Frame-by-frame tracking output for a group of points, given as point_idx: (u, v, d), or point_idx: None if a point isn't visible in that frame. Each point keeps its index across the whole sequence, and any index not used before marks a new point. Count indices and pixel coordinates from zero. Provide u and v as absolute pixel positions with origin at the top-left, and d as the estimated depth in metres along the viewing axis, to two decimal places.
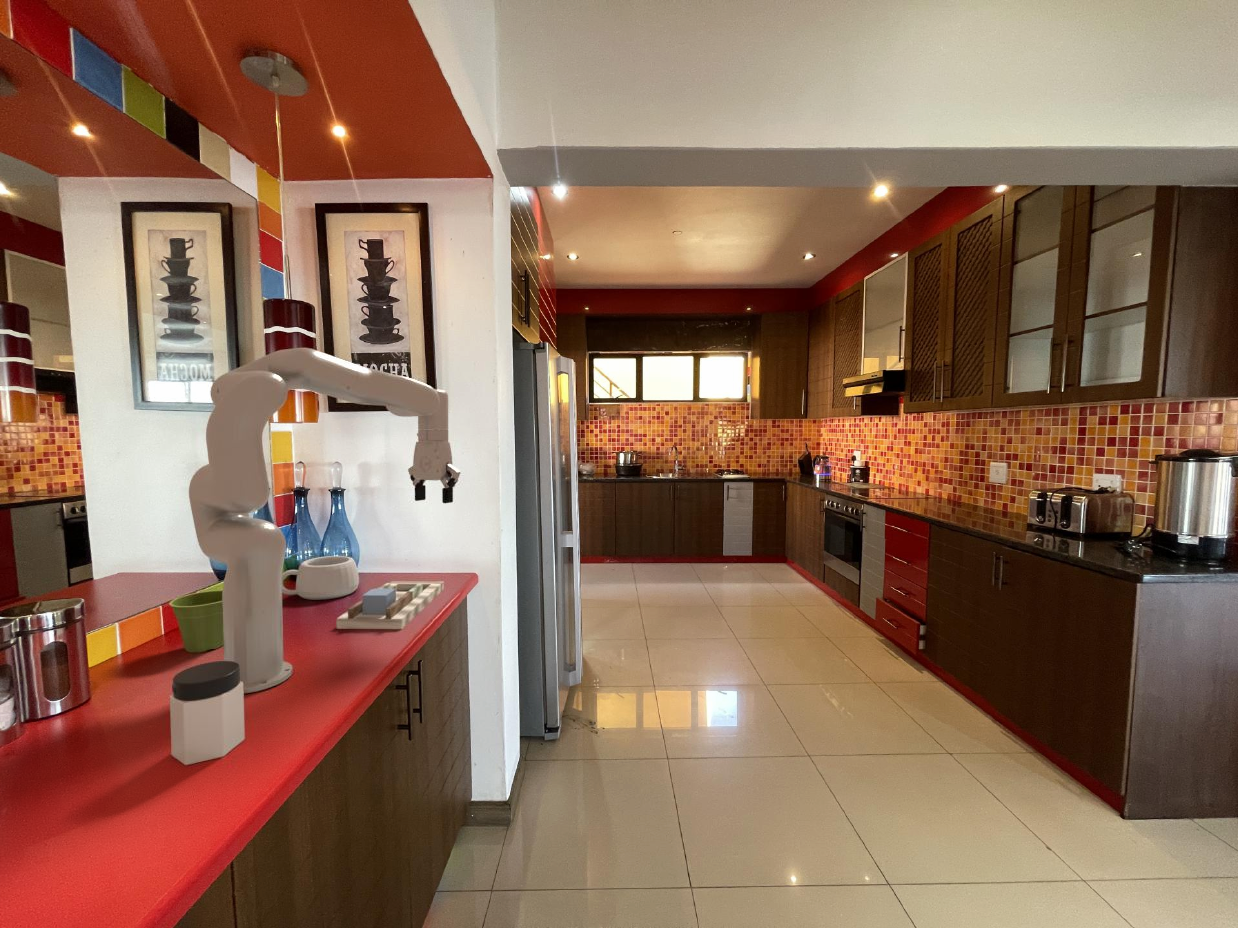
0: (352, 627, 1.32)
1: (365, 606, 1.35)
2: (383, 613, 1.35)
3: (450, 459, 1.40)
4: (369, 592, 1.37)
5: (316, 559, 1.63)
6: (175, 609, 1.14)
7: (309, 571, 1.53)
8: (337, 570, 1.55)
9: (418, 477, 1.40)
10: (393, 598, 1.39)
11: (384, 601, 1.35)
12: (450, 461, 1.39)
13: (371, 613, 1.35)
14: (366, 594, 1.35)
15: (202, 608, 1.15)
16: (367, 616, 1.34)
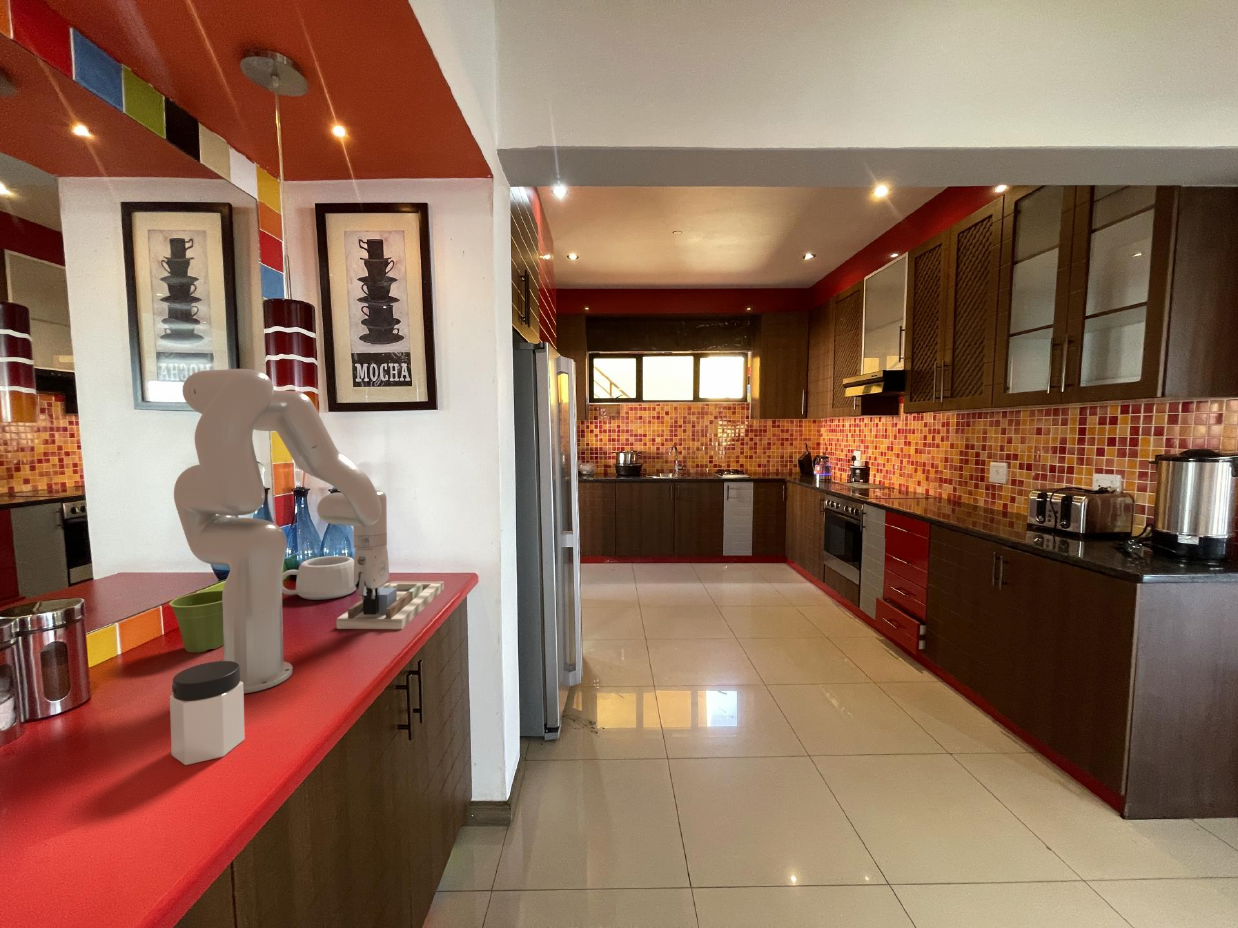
0: (352, 627, 1.32)
1: None
2: (384, 612, 1.36)
3: None
4: None
5: (316, 558, 1.63)
6: (175, 609, 1.14)
7: (309, 571, 1.53)
8: (337, 570, 1.55)
9: (377, 585, 1.30)
10: (394, 597, 1.40)
11: (384, 600, 1.36)
12: None
13: None
14: None
15: (202, 608, 1.15)
16: (367, 616, 1.34)
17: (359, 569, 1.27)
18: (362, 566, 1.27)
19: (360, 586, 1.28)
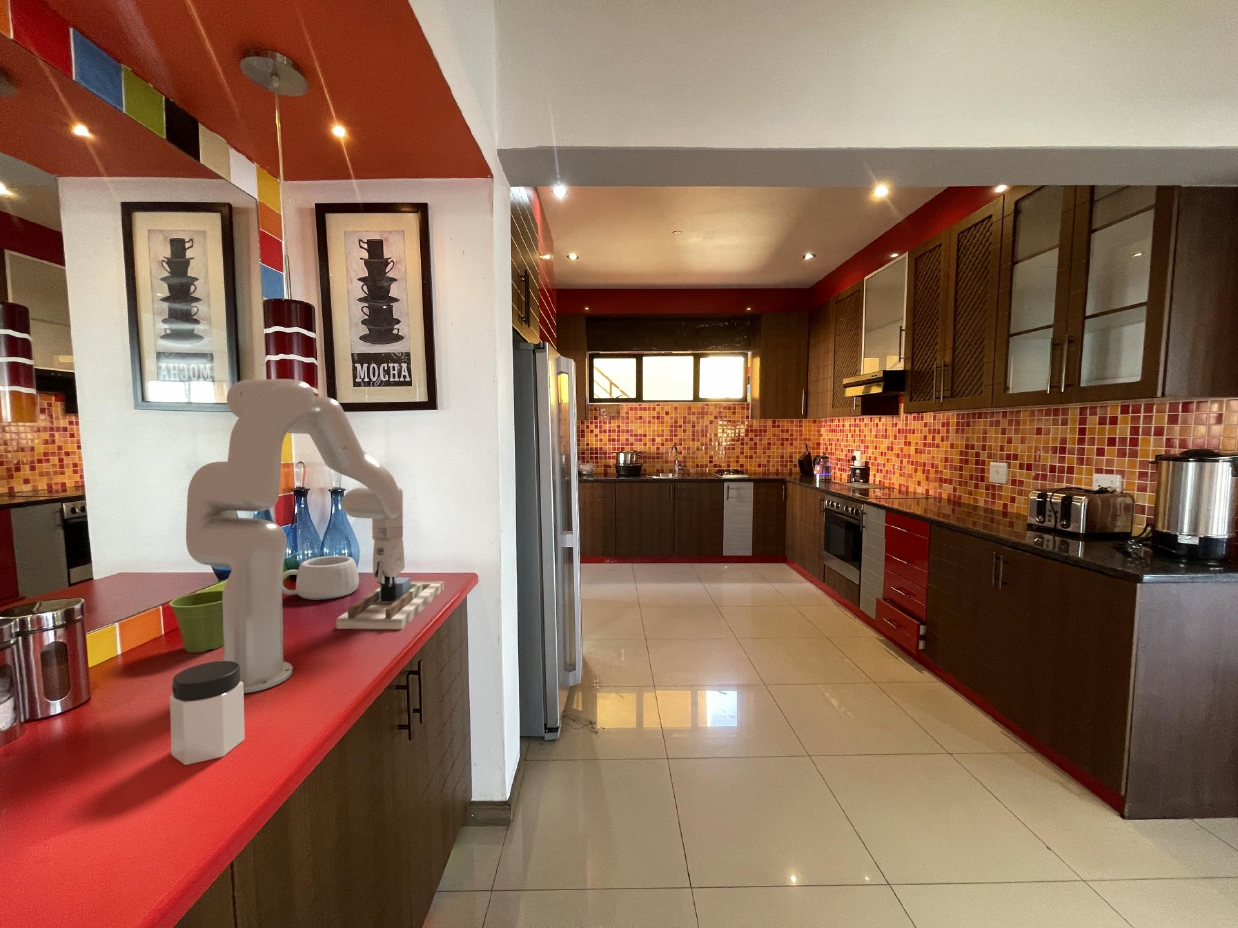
0: (352, 627, 1.32)
1: None
2: None
3: None
4: None
5: (316, 558, 1.63)
6: (175, 609, 1.14)
7: (309, 571, 1.53)
8: (337, 570, 1.55)
9: (394, 574, 1.41)
10: (408, 586, 1.50)
11: (400, 589, 1.46)
12: None
13: None
14: None
15: (202, 608, 1.15)
16: (367, 616, 1.34)
17: (378, 559, 1.38)
18: (381, 556, 1.38)
19: (379, 574, 1.38)
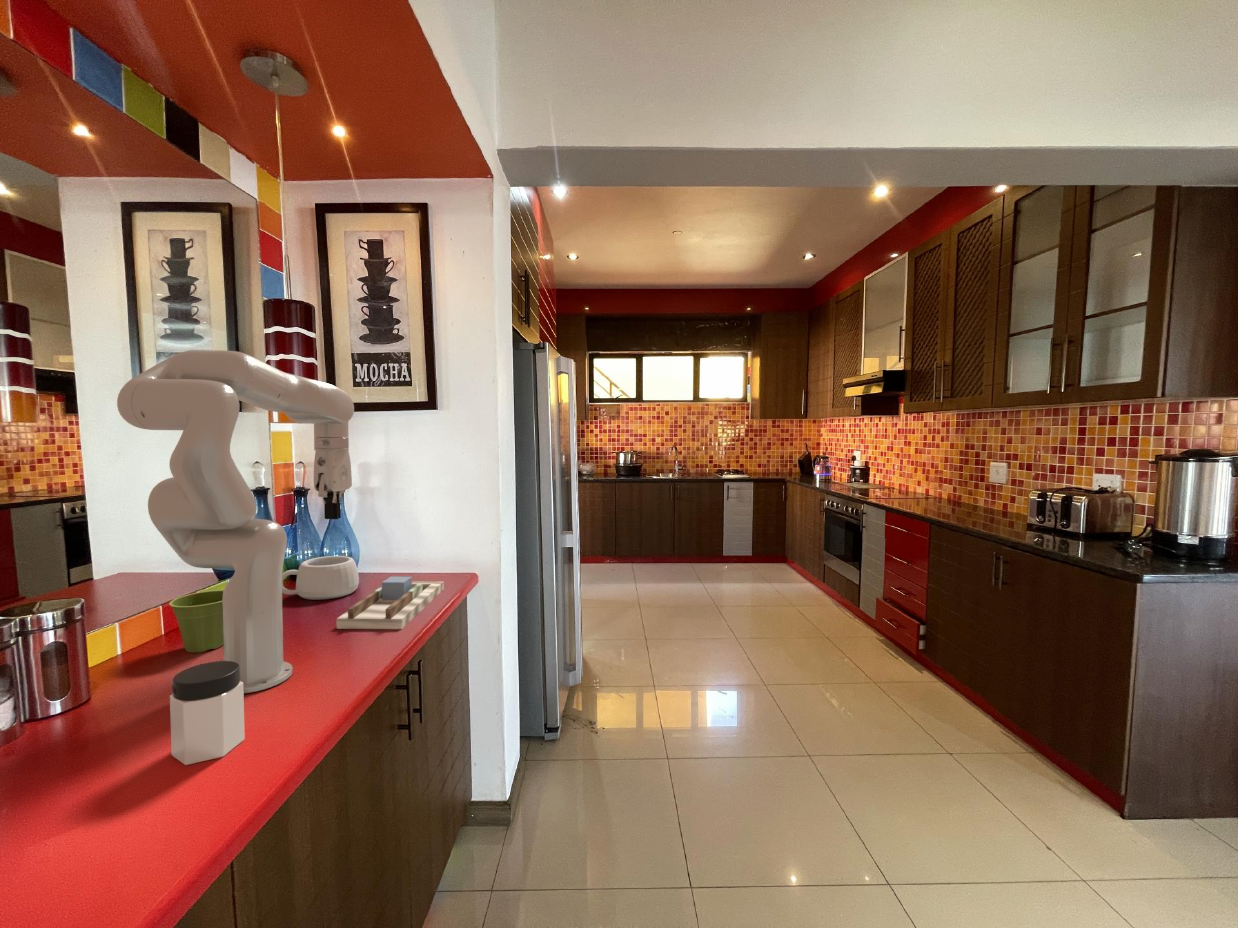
0: (352, 627, 1.32)
1: (384, 592, 1.47)
2: None
3: None
4: (388, 579, 1.49)
5: (316, 558, 1.63)
6: (175, 609, 1.14)
7: (309, 571, 1.53)
8: (337, 570, 1.55)
9: (338, 489, 1.30)
10: (409, 585, 1.51)
11: (401, 588, 1.47)
12: None
13: (390, 599, 1.47)
14: (385, 581, 1.47)
15: (202, 608, 1.15)
16: (367, 616, 1.34)
17: (319, 470, 1.27)
18: (322, 467, 1.27)
19: (320, 487, 1.27)
